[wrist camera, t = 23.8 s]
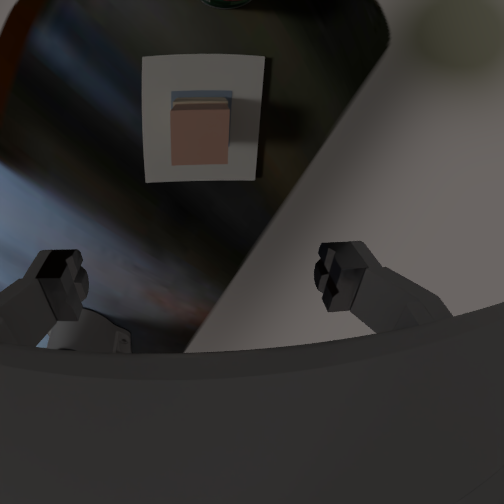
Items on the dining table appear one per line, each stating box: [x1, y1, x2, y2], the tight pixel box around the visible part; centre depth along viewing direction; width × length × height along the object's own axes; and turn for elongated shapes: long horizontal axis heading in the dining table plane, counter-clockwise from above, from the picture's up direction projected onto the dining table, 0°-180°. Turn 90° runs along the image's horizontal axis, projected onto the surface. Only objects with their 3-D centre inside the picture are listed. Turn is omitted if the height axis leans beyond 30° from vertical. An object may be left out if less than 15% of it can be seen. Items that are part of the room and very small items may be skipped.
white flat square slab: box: [142, 54, 265, 183], centre depth 33 cm, size 16×14×1 cm
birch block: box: [173, 97, 228, 107], centre depth 30 cm, size 6×6×5 cm
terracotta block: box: [170, 103, 230, 166], centre depth 26 cm, size 5×5×5 cm
